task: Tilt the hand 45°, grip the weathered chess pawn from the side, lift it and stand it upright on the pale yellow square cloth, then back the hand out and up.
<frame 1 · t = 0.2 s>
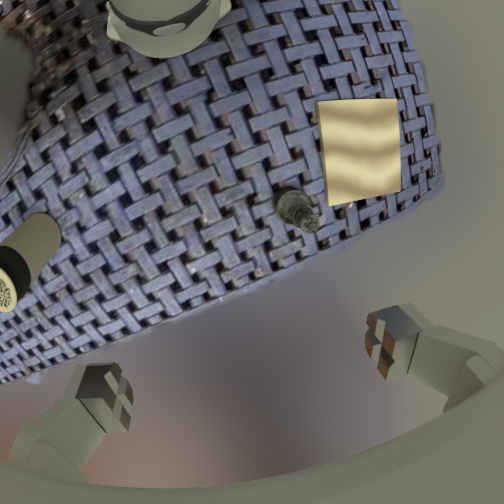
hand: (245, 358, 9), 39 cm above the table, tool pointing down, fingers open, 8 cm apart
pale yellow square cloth: (361, 148, 47), on the table
weathered chess pawn: (287, 201, 49), on the table
travel mug: (43, 233, 42), on the table
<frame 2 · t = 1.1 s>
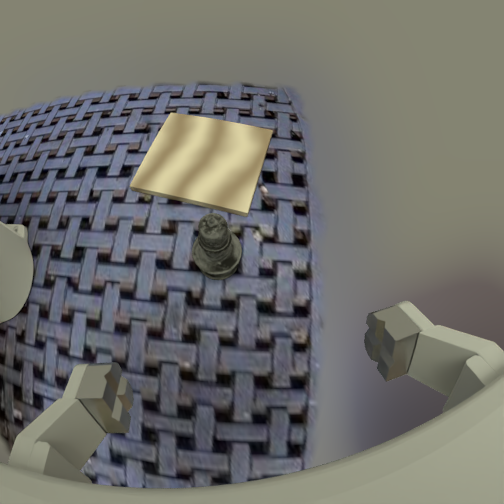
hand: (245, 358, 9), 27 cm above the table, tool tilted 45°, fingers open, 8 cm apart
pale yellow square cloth: (204, 159, 44), on the table
weathered chess pawn: (218, 260, 38), on the table
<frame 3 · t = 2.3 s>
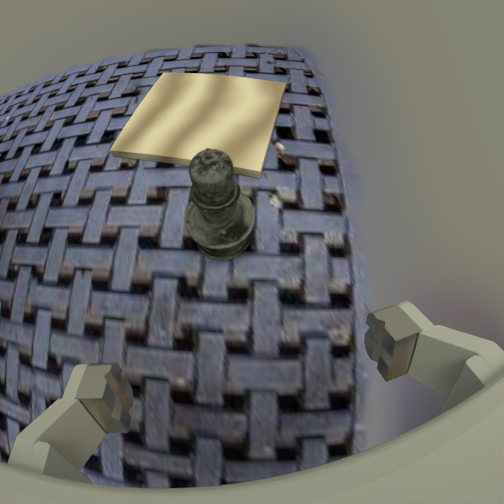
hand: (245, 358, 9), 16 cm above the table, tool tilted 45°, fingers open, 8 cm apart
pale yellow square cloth: (202, 116, 33), on the table
weathered chess pawn: (223, 234, 28), on the table
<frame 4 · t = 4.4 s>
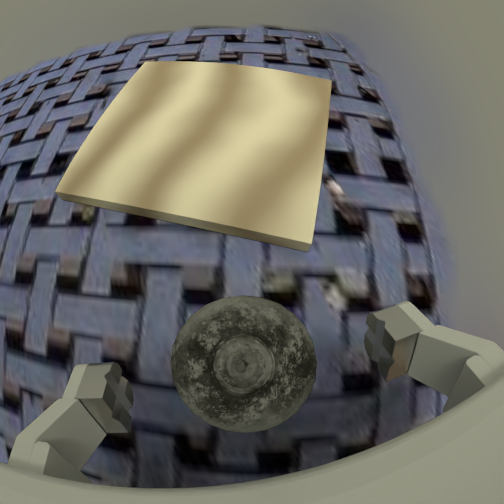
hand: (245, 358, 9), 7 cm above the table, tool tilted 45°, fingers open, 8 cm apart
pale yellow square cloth: (203, 129, 21), on the table
weathered chess pawn: (246, 363, 15), on the table
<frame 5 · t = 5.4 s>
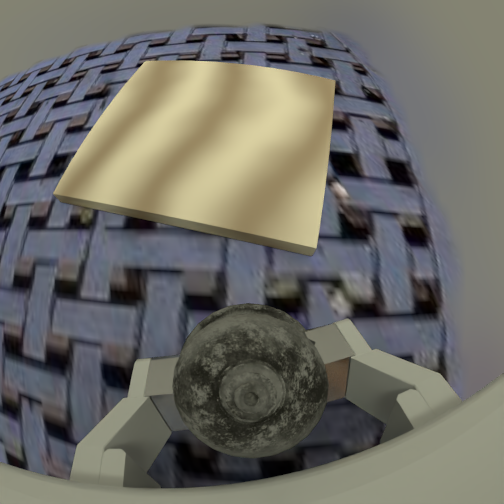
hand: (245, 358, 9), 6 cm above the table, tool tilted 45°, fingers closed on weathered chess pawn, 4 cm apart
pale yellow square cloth: (204, 130, 20), on the table
weathered chess pawn: (249, 371, 15), on the table, touching gripper
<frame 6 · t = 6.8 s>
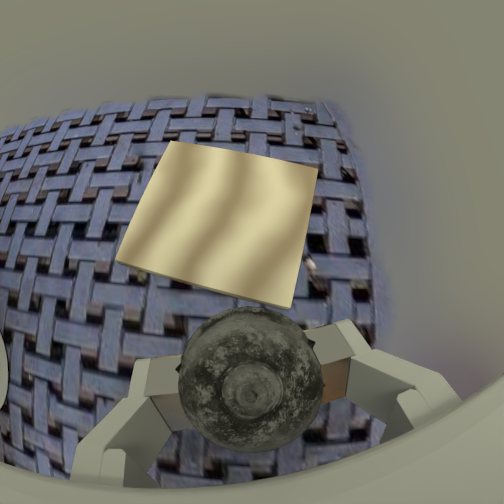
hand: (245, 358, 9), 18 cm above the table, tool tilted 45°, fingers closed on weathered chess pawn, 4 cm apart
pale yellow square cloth: (221, 215, 31), on the table
weathered chess pawn: (249, 372, 15), point 11 cm above the table, touching gripper
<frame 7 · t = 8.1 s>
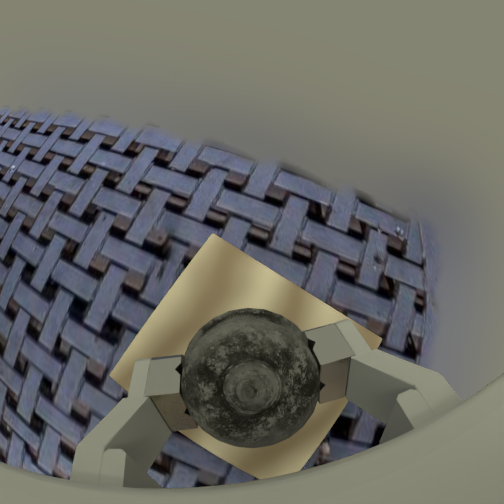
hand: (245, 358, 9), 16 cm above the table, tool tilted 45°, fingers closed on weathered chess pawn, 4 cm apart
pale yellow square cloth: (246, 365, 24), on the table
weathered chess pawn: (249, 372, 15), point 9 cm above the table, touching gripper
when the fingers open (9 cm above the table, at t = 9.4 s): weathered chess pawn stays where it is, resting on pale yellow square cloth.
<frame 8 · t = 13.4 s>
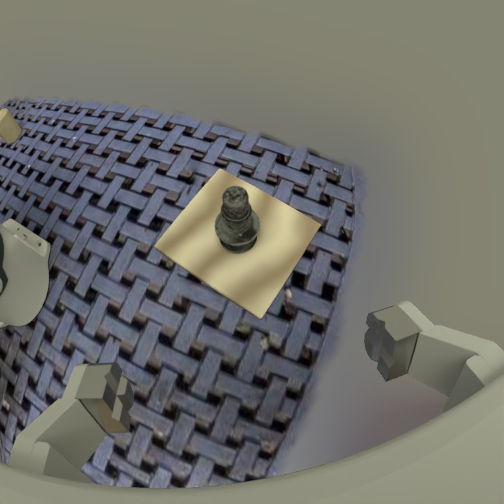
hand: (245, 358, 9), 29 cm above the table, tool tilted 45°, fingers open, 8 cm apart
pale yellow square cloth: (238, 238, 42), on the table
weathered chess pawn: (238, 236, 41), point 1 cm above the table, touching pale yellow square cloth
candle: (14, 137, 53), on the table
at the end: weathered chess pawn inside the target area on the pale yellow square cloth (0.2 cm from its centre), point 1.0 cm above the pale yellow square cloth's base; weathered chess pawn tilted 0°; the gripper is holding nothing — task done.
